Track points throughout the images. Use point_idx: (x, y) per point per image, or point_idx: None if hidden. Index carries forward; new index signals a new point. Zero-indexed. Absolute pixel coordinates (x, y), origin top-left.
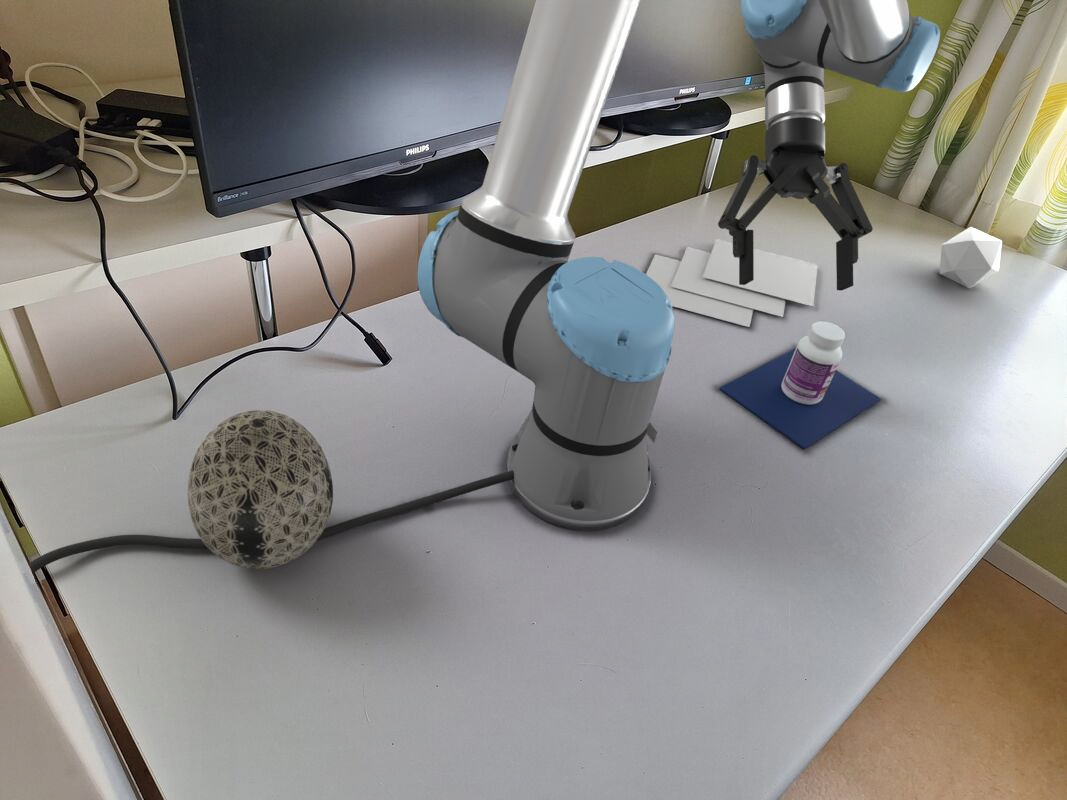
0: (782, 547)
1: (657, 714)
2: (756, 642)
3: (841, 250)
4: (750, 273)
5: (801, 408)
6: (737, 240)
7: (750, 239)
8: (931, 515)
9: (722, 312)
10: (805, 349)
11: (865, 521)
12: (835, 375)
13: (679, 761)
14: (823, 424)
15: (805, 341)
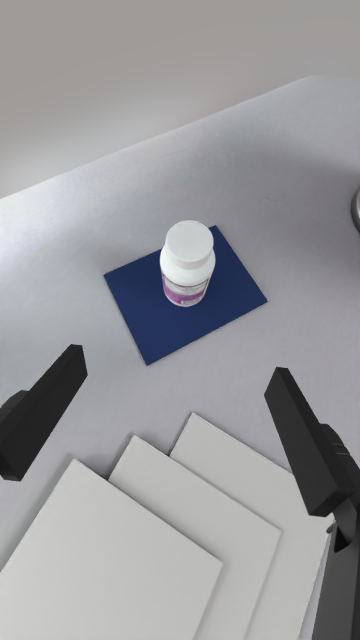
0: (267, 158)
1: (357, 99)
2: (302, 117)
3: (35, 432)
4: (287, 377)
5: None
6: (354, 463)
7: (328, 453)
8: (148, 166)
9: (217, 451)
10: (213, 251)
11: (201, 167)
12: (130, 311)
13: (349, 85)
14: None
15: (209, 260)
